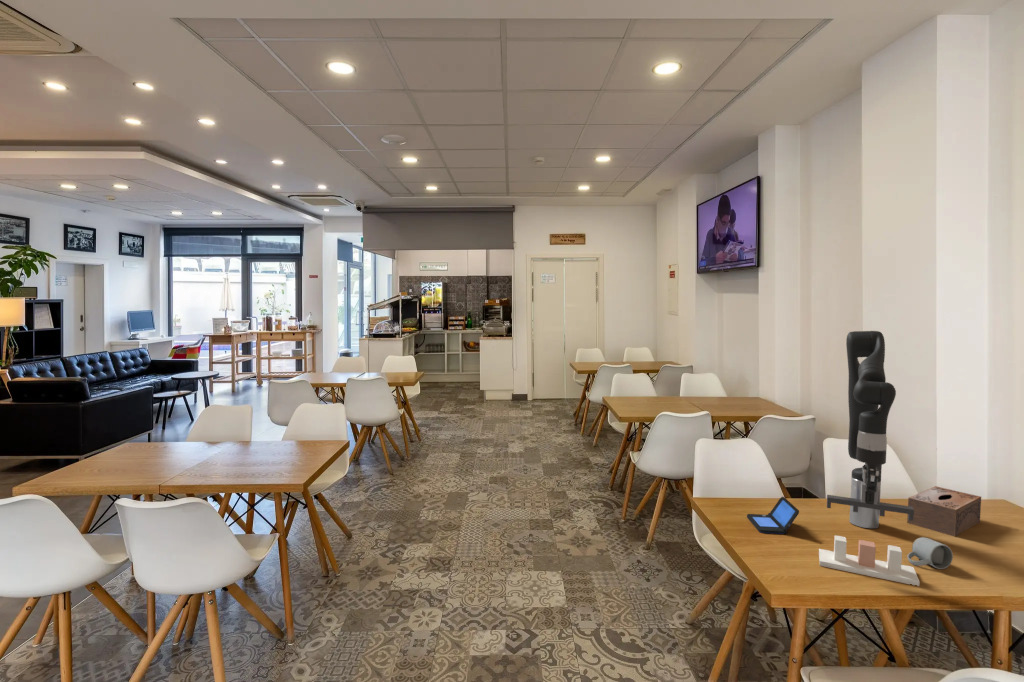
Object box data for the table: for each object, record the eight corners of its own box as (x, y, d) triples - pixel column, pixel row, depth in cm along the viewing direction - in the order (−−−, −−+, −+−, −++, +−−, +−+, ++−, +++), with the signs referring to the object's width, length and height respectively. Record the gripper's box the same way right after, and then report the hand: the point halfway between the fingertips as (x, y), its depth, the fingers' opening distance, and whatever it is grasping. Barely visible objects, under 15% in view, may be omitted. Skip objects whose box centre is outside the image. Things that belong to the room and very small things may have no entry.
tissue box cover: (934, 510, 215) (935, 486, 215) (979, 522, 203) (981, 496, 203) (907, 523, 201) (908, 497, 201) (954, 537, 189) (956, 509, 189)
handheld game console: (745, 517, 206) (746, 493, 205) (781, 519, 204) (782, 495, 204) (759, 533, 190) (760, 508, 190) (799, 536, 189) (800, 510, 188)
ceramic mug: (929, 556, 173) (930, 533, 173) (953, 568, 165) (954, 544, 164) (899, 558, 172) (900, 535, 171) (922, 570, 164) (922, 546, 163)
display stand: (818, 553, 175) (819, 529, 174) (912, 571, 163) (914, 546, 162) (819, 565, 166) (820, 540, 165) (919, 586, 154) (920, 559, 153)
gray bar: (826, 505, 170) (827, 477, 170) (911, 518, 159) (912, 488, 159) (827, 508, 167) (827, 480, 167) (913, 521, 157) (914, 491, 156)
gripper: (855, 440, 170) (852, 493, 171) (859, 449, 158) (856, 506, 159) (883, 443, 167) (880, 497, 167) (889, 453, 154) (886, 511, 155)
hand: (868, 501), depth 163 cm, fingers closed on gray bar, 3 cm apart
